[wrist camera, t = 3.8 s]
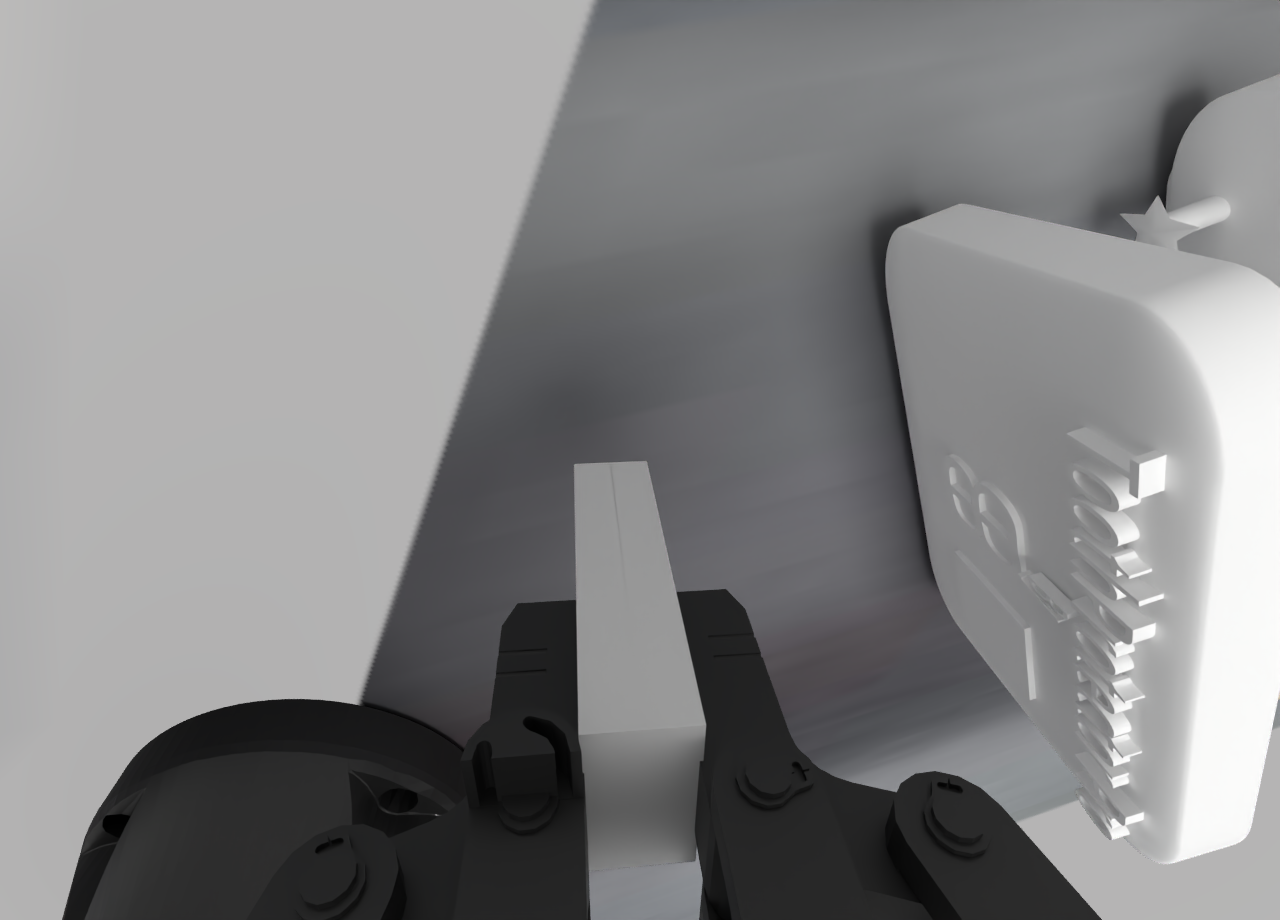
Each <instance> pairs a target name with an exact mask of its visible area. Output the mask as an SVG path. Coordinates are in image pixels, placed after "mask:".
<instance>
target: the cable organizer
mask: <svg viewBox="0 0 1280 920" xmlns="http://www.w3.org/2000/svg"><path fill="white" fill-rule="evenodd" d="M1119 214H1120V213H1119ZM1120 215H1121V216H1122V217H1123V218H1124V219H1125V220H1126V221H1127V222H1128V223H1129V224H1130V226H1131V227H1132V228H1133V229H1134V230H1135V231H1136V232H1137V235H1136V239H1135V241H1133V240H1128V239H1123V238H1119V237H1114V236H1110V235H1105V234H1101V233H1096V232H1092V231H1087V230H1082V229H1078V228H1073V227H1069V226H1064V225H1060V224H1055V223H1051V222H1046V221H1041V220H1037V219H1032V218H1028V217H1023V216H1019V215H1014V214H1010V213H1005V212H1001V211H996V210H991V209H987V208H982V207H978V206H973V205H969V204H957V205H955V206H952V207H950V208H947V209H944V210H942V211H939V212H937V213H934V214H931V215H929V216H926V217H924V218H921V219H918V220H916V221H913V222H911V223H908V224H905V225H903V226H900V227H898V228H897V229H896V230H895V231H894V233H893V234H892V236H891V238H890V241H889V244H888V248H887V254H886V264H885V276H886V292H887V299H888V306H889V312H890V318H891V324H892V330H893V336H894V342H895V348H896V354H897V360H898V366H899V372H900V379H901V385H902V391H903V397H904V403H905V409H906V415H907V421H908V427H909V433H910V439H911V445H912V451H913V458H914V464H915V470H916V476H917V482H918V488H919V494H920V500H921V506H922V512H923V518H924V524H925V530H926V537H927V543H928V549H929V555H930V560H931V565H932V569H933V573H934V576H935V579H936V582H937V585H938V588H939V590H940V593H941V595H942V598H943V600H944V602H945V604H946V606H947V608H948V610H949V612H950V614H951V616H952V617H953V619H954V621H955V622H956V624H957V625H958V626H959V628H960V629H961V631H962V632H963V633H964V634H965V636H966V637H967V638H968V640H969V641H970V642H971V643H972V645H973V646H974V647H975V649H976V650H977V651H978V652H979V654H980V655H981V656H982V658H983V659H984V660H985V661H986V663H987V664H988V665H989V667H990V668H991V669H992V670H993V672H994V673H995V674H996V676H997V677H998V678H999V679H1000V681H1001V682H1002V683H1003V685H1004V686H1005V687H1006V688H1007V690H1008V691H1009V692H1010V694H1011V695H1012V696H1013V697H1014V699H1015V700H1016V701H1017V703H1018V704H1019V705H1020V706H1021V708H1022V709H1023V710H1024V712H1025V713H1026V714H1027V715H1028V717H1029V718H1030V719H1031V721H1032V722H1033V723H1034V724H1035V726H1036V727H1037V728H1038V730H1039V731H1040V732H1041V733H1042V735H1043V736H1044V737H1045V739H1046V740H1047V741H1048V742H1049V744H1050V745H1051V746H1052V748H1053V749H1054V750H1055V751H1056V753H1057V754H1058V755H1059V757H1060V758H1061V759H1062V760H1063V762H1064V763H1065V764H1066V766H1067V767H1068V768H1069V769H1070V771H1071V772H1072V773H1073V775H1074V776H1075V777H1076V778H1077V780H1078V781H1079V782H1080V784H1081V785H1082V786H1083V787H1082V788H1079V789H1076V790H1075V792H1076V795H1077V798H1078V799H1079V801H1080V803H1081V805H1082V806H1083V808H1084V809H1085V811H1086V812H1087V814H1088V815H1089V816H1090V818H1091V819H1092V820H1093V822H1094V823H1095V824H1096V826H1097V827H1098V828H1099V829H1100V831H1101V832H1102V833H1103V834H1104V835H1105V836H1106V837H1107V838H1108V839H1109V840H1113V839H1117V838H1120V837H1123V838H1124V839H1125V840H1126V841H1127V842H1128V843H1129V844H1130V845H1131V846H1132V847H1133V848H1135V849H1136V850H1137V851H1138V852H1139V853H1141V854H1142V855H1144V856H1146V857H1147V858H1148V859H1150V860H1152V861H1154V862H1157V863H1160V864H1171V863H1175V862H1178V861H1182V860H1185V859H1188V858H1192V857H1195V856H1198V855H1202V854H1205V853H1208V852H1211V851H1215V850H1218V849H1221V848H1225V847H1228V846H1231V845H1235V844H1237V843H1239V842H1240V841H1242V840H1244V839H1245V837H1246V836H1247V834H1248V833H1249V831H1250V829H1251V825H1252V821H1253V816H1254V811H1255V807H1256V802H1257V797H1258V792H1259V788H1260V782H1261V778H1262V773H1263V768H1264V763H1265V759H1266V754H1267V749H1268V744H1269V740H1270V735H1271V730H1272V726H1273V721H1274V716H1275V711H1276V707H1277V702H1278V697H1279V692H1280V74H1278V75H1275V76H1272V77H1270V78H1267V79H1265V80H1262V81H1259V82H1257V83H1254V84H1252V85H1249V86H1246V87H1244V88H1241V89H1239V90H1236V91H1233V92H1231V93H1228V94H1226V95H1223V96H1220V97H1218V98H1217V99H1215V100H1214V101H1212V102H1210V103H1209V104H1208V105H1207V106H1206V107H1205V108H1203V109H1202V110H1201V111H1200V112H1199V113H1198V114H1197V116H1196V117H1195V118H1194V119H1193V121H1192V122H1191V123H1190V125H1189V126H1188V128H1187V130H1186V131H1185V133H1184V135H1183V137H1182V140H1181V142H1180V144H1179V146H1178V149H1177V153H1176V156H1175V159H1174V163H1173V169H1172V171H1171V173H1170V176H1169V179H1168V183H1167V194H1166V210H1165V208H1164V206H1163V204H1162V202H1161V200H1160V198H1159V195H1158V196H1157V197H1156V199H1155V200H1154V202H1153V203H1152V205H1151V206H1150V208H1149V209H1148V211H1147V212H1146V214H1145V215H1144V214H1120Z"/></svg>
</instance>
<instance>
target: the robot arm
mask: <svg viewBox="0 0 1280 920" xmlns="http://www.w3.org/2000/svg"><path fill="white" fill-rule="evenodd" d="M574 493H575V554H576V600H568V601H551V602H534V603H518V604H517V605H516V606H515V608H514V609H513V611H512V612H511V614H510V615H509V617H508V618H507V620H506V621H505V622H504V624H503V625H502V630H501V638H500V646H499V656H498V661H497V669H496V678H495V685H494V693H493V700H492V708H491V716H490V720H489V721H488V722H486V723H484V724H483V725H482V726H481V727H480V728H479V729H478V730H477V731H476V733H475V734H474V735H473V736H472V737H471V738H470V739H469V740H468V742H467V745H466V747H465V750H464V752H462V751H461V750H460V749H459V748H457V747H456V746H455V745H453V744H452V743H451V742H449V741H448V740H446V739H445V738H443V737H441V736H440V735H438V734H436V733H435V732H433V731H431V730H429V729H427V728H425V727H423V726H421V725H419V724H417V723H414V722H412V721H410V720H407V719H405V718H402V717H399V716H396V715H393V714H390V713H387V712H384V711H380V710H377V709H373V708H369V707H364V706H359V705H354V704H348V703H342V702H335V701H325V700H310V699H282V700H267V701H257V702H250V703H243V704H238V705H233V706H229V707H224V708H220V709H217V710H213V711H210V712H207V713H204V714H201V715H198V716H195V717H193V718H190V719H188V720H186V721H183V722H181V723H179V724H177V725H176V726H173V727H171V728H170V729H168V730H166V731H165V732H163V733H161V734H160V735H159V736H157V737H156V738H155V739H153V740H152V741H150V742H149V743H148V744H147V745H146V746H145V747H143V748H142V749H141V750H140V751H139V752H138V754H137V755H136V756H135V757H134V758H133V759H132V761H131V762H130V763H129V765H128V766H127V767H126V769H125V770H124V772H123V773H122V775H121V777H120V778H119V779H118V781H117V783H116V784H115V786H114V787H113V789H112V790H111V792H110V793H109V795H108V796H107V798H106V799H105V801H104V802H103V804H102V805H101V807H100V808H99V810H98V811H97V813H96V815H95V817H94V818H93V820H92V823H91V825H90V827H89V829H88V832H87V834H86V836H85V839H84V842H83V846H82V850H81V853H80V857H79V860H78V864H77V867H76V871H75V874H74V878H73V882H72V885H71V889H70V893H69V897H68V900H67V904H66V908H65V911H64V915H63V918H62V920H591V917H590V899H589V871H599V870H610V869H620V868H630V867H641V866H651V865H661V864H672V863H682V862H692V861H695V859H696V847H697V849H698V854H699V860H700V866H701V871H702V877H703V884H702V895H701V906H700V917H699V920H1102V919H1101V918H1100V917H1099V916H1098V915H1097V914H1096V912H1095V911H1094V910H1093V909H1092V908H1091V907H1090V906H1089V905H1088V903H1086V901H1085V900H1084V899H1083V898H1082V897H1081V896H1080V894H1079V893H1078V892H1077V891H1076V890H1075V889H1074V888H1073V887H1072V886H1071V884H1070V883H1069V882H1068V881H1067V880H1066V879H1065V878H1064V876H1063V875H1062V874H1061V873H1060V872H1059V871H1058V870H1057V869H1056V867H1055V866H1054V865H1053V864H1052V863H1051V862H1050V861H1049V860H1048V858H1047V857H1046V856H1045V855H1044V854H1043V853H1042V852H1041V851H1040V850H1039V848H1038V847H1037V846H1036V845H1035V844H1034V843H1033V841H1032V840H1031V839H1030V838H1029V837H1028V836H1027V835H1026V834H1025V832H1024V831H1023V830H1022V829H1021V828H1020V827H1019V826H1018V825H1017V823H1016V822H1015V821H1014V820H1013V819H1012V818H1011V817H1010V815H1009V814H1008V813H1007V812H1006V811H1005V810H1004V809H1003V808H1002V806H1001V805H999V804H998V803H997V802H996V801H995V800H994V799H993V798H991V797H990V796H989V795H988V794H987V793H986V792H985V791H984V790H982V789H981V788H980V787H978V786H976V785H974V784H972V783H970V782H968V781H966V780H964V779H962V778H960V777H958V776H955V775H950V774H946V773H941V772H936V771H933V772H925V773H917V774H914V775H913V776H911V777H910V778H908V779H907V780H905V781H904V782H902V783H901V784H900V787H899V789H898V791H897V792H892V791H888V790H883V789H879V788H874V787H870V786H865V785H861V784H856V783H852V782H849V781H846V780H843V779H839V778H836V777H834V776H832V775H830V774H828V773H827V772H825V771H823V770H821V769H819V768H818V767H817V766H816V765H814V764H813V763H812V762H811V760H810V759H809V758H808V757H807V756H806V755H804V754H803V753H802V752H801V751H800V750H799V749H798V748H797V746H796V745H795V743H794V741H793V739H792V737H791V735H790V733H789V731H788V728H787V725H786V722H785V720H784V717H783V714H782V711H781V708H780V706H779V703H778V700H777V697H776V694H775V692H774V689H773V686H772V683H771V680H770V677H769V675H768V672H767V669H766V666H765V663H764V661H763V658H761V652H760V649H759V647H758V644H757V641H756V638H755V637H754V633H753V630H752V627H751V624H750V621H749V618H748V616H747V613H746V610H745V608H744V607H743V606H742V605H741V604H740V603H739V602H738V601H737V600H736V599H735V598H734V597H733V596H732V595H731V594H730V593H729V592H728V591H727V590H726V589H721V590H704V591H687V592H676V589H675V584H674V580H673V575H672V571H671V566H670V562H669V557H668V553H667V549H666V544H665V540H664V535H663V531H662V526H661V522H660V517H659V513H658V509H657V504H656V500H655V495H654V491H653V486H652V482H651V477H650V473H649V469H648V464H647V461H635V462H611V463H586V464H574Z"/></svg>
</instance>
